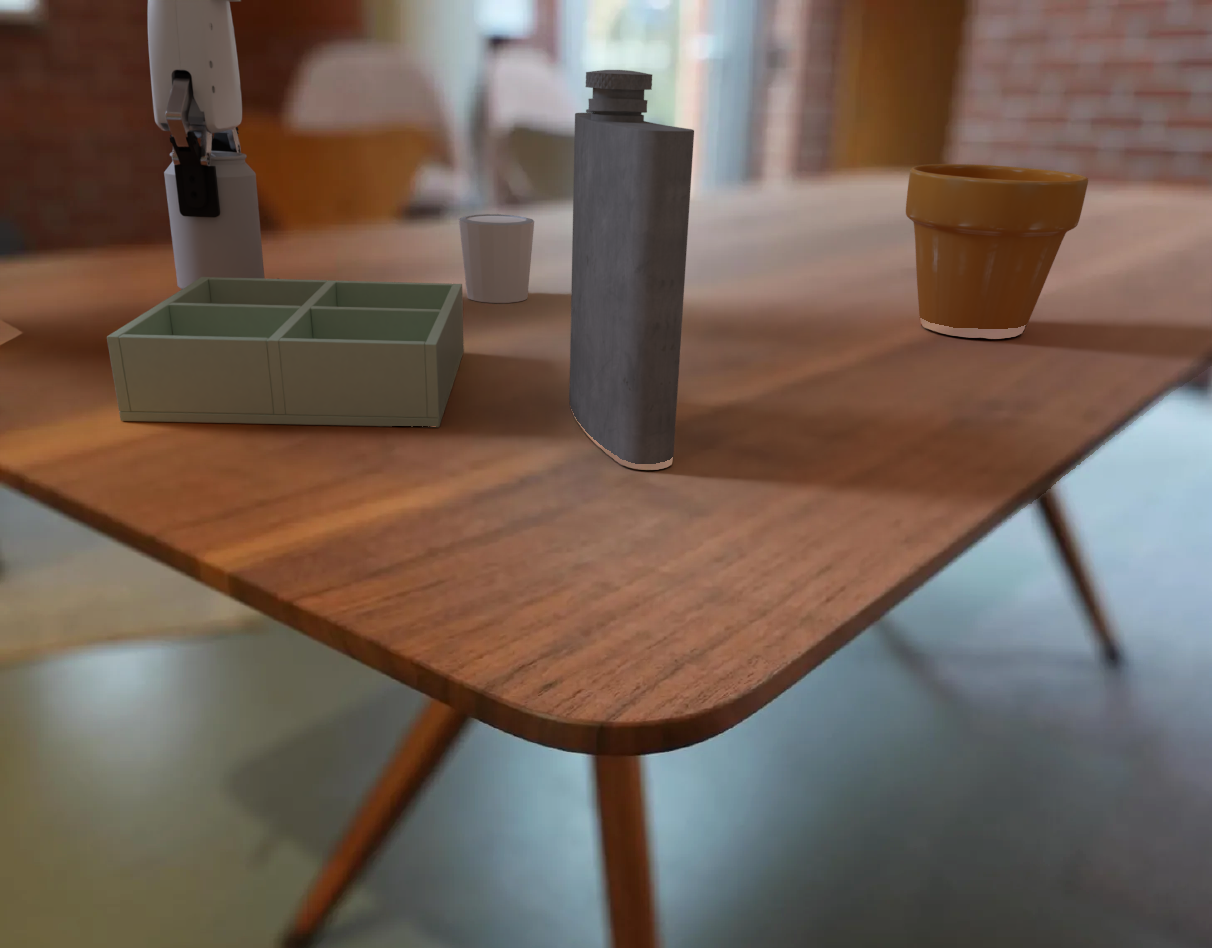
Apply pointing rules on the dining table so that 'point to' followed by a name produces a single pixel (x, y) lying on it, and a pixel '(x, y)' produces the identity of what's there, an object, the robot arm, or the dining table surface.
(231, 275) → the can
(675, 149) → the hip flask
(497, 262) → the shot glass
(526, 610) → the dining table surface
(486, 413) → the dining table surface
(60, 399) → the dining table surface
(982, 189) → the flower pot
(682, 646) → the dining table surface
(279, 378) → the compartment tray
